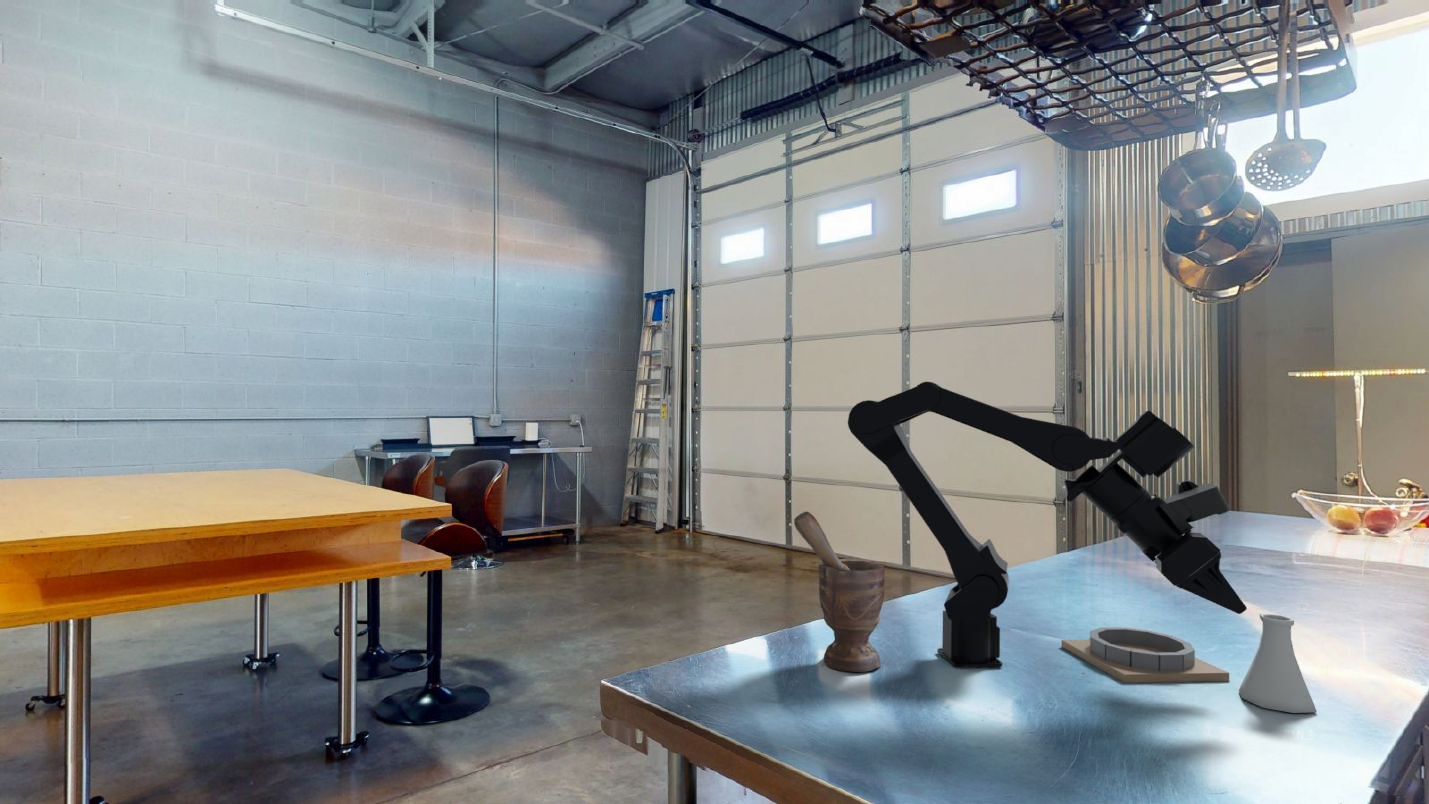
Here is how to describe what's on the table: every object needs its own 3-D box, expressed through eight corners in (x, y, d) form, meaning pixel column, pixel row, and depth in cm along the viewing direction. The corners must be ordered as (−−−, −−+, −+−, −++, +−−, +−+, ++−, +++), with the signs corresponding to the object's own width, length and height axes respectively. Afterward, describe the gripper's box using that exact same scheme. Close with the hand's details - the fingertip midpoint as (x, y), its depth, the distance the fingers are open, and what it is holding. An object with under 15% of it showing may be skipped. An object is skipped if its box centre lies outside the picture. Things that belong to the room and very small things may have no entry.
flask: (1331, 718, 82) (1331, 628, 82) (1257, 712, 83) (1257, 623, 83) (1294, 694, 89) (1294, 611, 89) (1226, 689, 90) (1227, 607, 90)
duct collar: (1124, 682, 92) (1124, 658, 92) (1061, 646, 106) (1061, 625, 106) (1229, 680, 93) (1229, 656, 93) (1153, 645, 107) (1153, 624, 107)
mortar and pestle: (817, 681, 90) (819, 518, 91) (785, 659, 98) (787, 509, 99) (896, 671, 95) (898, 515, 95) (859, 650, 103) (861, 507, 103)
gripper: (1196, 464, 82) (1321, 573, 77) (1166, 456, 99) (1266, 545, 94) (1116, 530, 84) (1231, 639, 80) (1100, 511, 102) (1194, 600, 97)
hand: (1232, 602), depth 88 cm, fingers open, 9 cm apart
